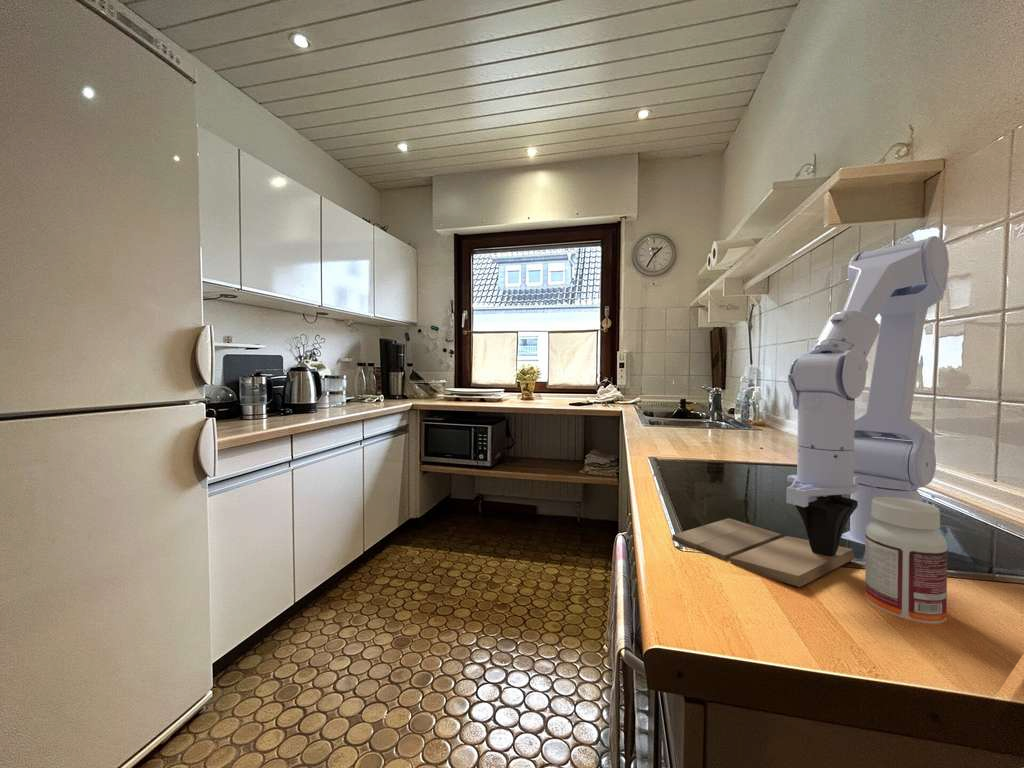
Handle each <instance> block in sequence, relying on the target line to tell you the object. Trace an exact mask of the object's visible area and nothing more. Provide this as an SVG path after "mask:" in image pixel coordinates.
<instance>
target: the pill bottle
mask: <svg viewBox="0 0 1024 768" xmlns="http://www.w3.org/2000/svg"><path fill="white" fill-rule="evenodd" d="M871 516H872V517H874V518H876V519H878V520H875V521H872V522H870V523H869V524H868V525H867V526H866V532H865V535H866V540H865V544H864V545H865V546H864V547H865V551H864V552H865V554H864V555H865V559H864V560H865V561H864V564H865V565H864V566H865V567H864V570H865V571H864V573H865V574H864V591H865V592H864V594H865V598H866V600H867V601H868V602H869V603H870V604H871V605H872V606H873V607H876V608H878V609H879V610H881V611H883V612H886V613H888V614H890V615H893V616H895V617H899V618H902V619H905V620H909V621H913V622H918V623H922V624H923V623H924V624H942V623H945V622H946V621H947V618H948V617H947V615H948V614H947V613H948V611H947V608H948V607H947V605H948V600H947V599H948V590H947V589H948V549H949V548H948V543H947V540H946V539H945V537H944V535H942V534H941V533H939V532H938V531H936V530H938V529H939V528H941V511H940V508H938V507H937V506H935V505H934V504H930V503H927V502H920V501H915V500H910V499H903V498H895V497H875V498H873V499H872V503H871Z"/></svg>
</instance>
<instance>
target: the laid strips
mask: <svg viewBox="0 0 1024 768" xmlns="http://www.w3.org/2000/svg"><path fill="white" fill-rule="evenodd" d="M671 536H672V537H671V539H672V540H673V541H676V542H678V543H681V544H683V545H685V546H689V547H690V548H693V549H696V550H697V551H700V552H703V553H705V554H707V555H710V556H713V557H715V558H718V559H720V560H722V561H726V560H730V557H733V556H735V555H738V554H741V553H743V552H746V551H748V550H751V549H754V548H756V547H759V546H762V545H764V544H767V543H769V542H772V541H775V540H777V539H780V538H782V534H781V533H779V532H776V531H771V530H768V529H766V528H762V527H759V526H755V525H751V524H749V523H746V522H744V521H743V522H742V521H739V520H737V519H734V518H733V519H732V518H729V517H728V518H725V519H721V520H718V521H715V522H711V523H708V524H705V525H701V526H698V527H694V528H691V529H687V530H684V531H680V532H677V533H674V534H672V535H671Z"/></svg>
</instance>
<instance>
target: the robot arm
mask: <svg viewBox="0 0 1024 768" xmlns="http://www.w3.org/2000/svg"><path fill="white" fill-rule="evenodd" d="M847 266H848V267H847V279H848V282H849V285H850V287H851V288H850V291H849V294H848V296H847V299H846V301H845V304H844V307H843V309H842V311H837V312H835V313H833V314H832V315H831V316H829V317H828V319H827V320H826V322H825V323H824V326H823V327H822V329H821V331H820V332H819V333H818V336H817V338H816V339H815V341H814V343H813V344H812V346H811V348H810V350H809V351H808V353H804V354H802V355H800V356H799V358H796V359H795V360H793V362H792V363H791V365H790V368H789V372H788V373H789V374H787V381H788V386H789V389H790V392H791V395H792V406H793V408H794V410H797V453H796V454H797V457H796V459H797V463H796V465H797V466H796V467H797V469H796V474H791V475H787V482H790V483H792V484H791V485H790V486H787V487H786V493H785V494H786V498H785V499H786V501H785V503H786V504H789V505H793V506H795V508H796V510H797V512H798V513H799V515H800V518H801V519H802V522H803V525H804V529H805V531H806V535H807V538H808V539H807V540H809V543H810V547H811V550H812V552H814V553H817V554H820V555H825V556H830V557H831V556H833V555H835V554H836V552H837V549H838V546H840V542H841V539H844V540H847V541H850V542H851V541H852V542H854V543H858V544H861V545H865V540H866V535H865V532H866V526H867V525H868V524H869V523H870V522H872V521H875V520H878V519H876V518H874V517H872V516H871V503H872V499H873V498H875V497H895V498H903V499H910V500H915V501H920V502H923V501H924V500H923V497H922V496H921V494H920V492H919V491H918V489H921V488H925V487H926V486H927V485H929V484H931V483H932V481H933V479H934V477H935V474H936V468H937V458H936V457H937V456H936V453H935V450H936V448H935V446H936V439H935V438H934V435H933V434H932V433H931V432H930V431H929V430H928V429H927V428H926V427H923V426H922V425H921V424H919V423H917V422H916V421H914V420H913V419H911V417H912V416H911V415H912V408H913V404H914V403H913V402H914V394H915V389H916V387H915V386H916V379H917V375H918V374H917V373H918V367H919V361H920V354H921V347H922V341H923V332H924V327H925V323H926V317H927V315H928V309H930V307H932V306H934V305H935V304H937V303H939V302H941V301H942V300H944V293H945V291H946V289H947V282H948V276H949V275H948V274H949V268H950V259H949V252H948V249H947V245H946V243H945V241H944V240H943V239H941V238H939V236H937V235H932V236H928V237H927V238H924V239H920V240H915V241H910V242H907V243H906V242H905V243H901V244H897V245H893V246H888V247H883V248H879V249H875V250H870V251H865V252H863V251H862V252H857V253H855V254H854V255H853V256H852V258H851V259H850V261H849V263H848V265H847ZM878 315H880V322H879V323H878V321H877V320H876V318H877V317H878ZM876 339H877V341H876ZM875 341H876V347H875V353H874V360H873V365H872V372H871V379H870V385H869V390H868V398H867V403H866V410H865V413H864V414H862V415H860V416H859V417H857V418H855V415H856V412H855V411H856V408H855V407H856V406H855V405H856V399H857V398H859V397H860V396H861V395H862V393H863V392H864V390H865V387H866V383H867V371H868V368H869V367H868V366H869V362H868V360H867V357H868V355H869V353H870V351H871V349H872V347H873V346H874V343H875ZM843 495H850V498H848V497H844V496H843ZM848 521H849V530H848V531H846V532H844V531H845V527H846V525H847V522H848Z"/></svg>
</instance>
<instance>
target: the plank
mask: <svg viewBox="0 0 1024 768" xmlns="http://www.w3.org/2000/svg"><path fill="white" fill-rule="evenodd" d="M853 560H855V552H854V549H853V548H849V547H844V546H840V545H839V546H838V549H837V552H836V554H835V555H833V556H831V557H830V556H825V555H820V554H817V553H814V552H812V550H811V547H810V543H809V539H803V538H799V537H793V536H789V535H786V536H783V537H781V538H780V539H777V540H775V541H772V542H769V543H767V544H764V545H762V546H759V547H756V548H754V549H751V550H748V551H746V552H743V553H741V554H738V555H735V556H733V557H730V558H729V561H730V562H729V563H730V564H733V565H734V566H737V567H740V568H742V569H745V570H747V571H750V572H753V573H755V574H757V575H759V576H762V577H765V578H767V579H769V580H770V579H771V580H773V581H777V582H780V583H785V584H788V585H792V586H795V587H798V588H801V587H803V586H805V585H807V584H809V583H811V582H813V581H815V580H817V579H818V578H821V577H822V576H824V575H826V574H828V573H830V572H832V571H833V570H836V569H837V568H840V567H841V566H844V565H845V564H847V563H849V562H851V561H853Z"/></svg>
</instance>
